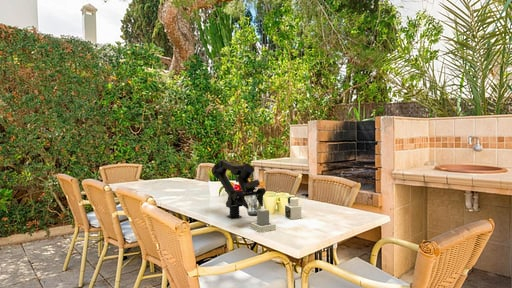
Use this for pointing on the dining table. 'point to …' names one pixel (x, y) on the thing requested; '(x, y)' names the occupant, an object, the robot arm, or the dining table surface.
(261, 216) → the grey tall block
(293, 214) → the yellow black printed box
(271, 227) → the tray
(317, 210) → the dining table surface
